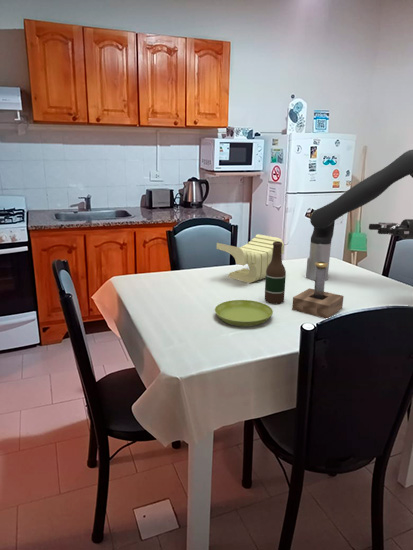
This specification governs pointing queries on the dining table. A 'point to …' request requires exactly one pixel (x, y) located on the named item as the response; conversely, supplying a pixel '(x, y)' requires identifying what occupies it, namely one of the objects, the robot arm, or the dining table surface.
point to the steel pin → (320, 279)
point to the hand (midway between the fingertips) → (373, 228)
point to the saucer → (243, 312)
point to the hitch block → (317, 303)
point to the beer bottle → (275, 277)
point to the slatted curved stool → (252, 257)
